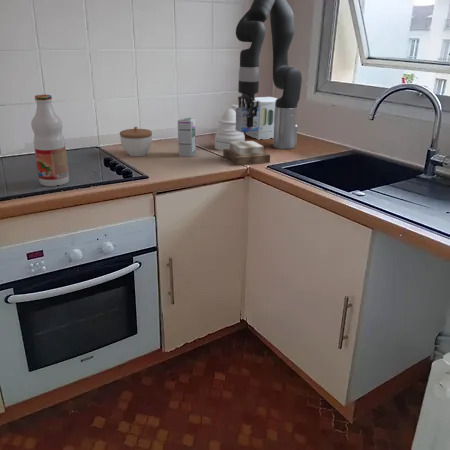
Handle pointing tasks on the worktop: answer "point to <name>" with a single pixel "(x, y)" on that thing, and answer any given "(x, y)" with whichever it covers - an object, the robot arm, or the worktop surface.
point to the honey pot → (228, 130)
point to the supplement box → (265, 118)
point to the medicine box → (245, 120)
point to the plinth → (246, 158)
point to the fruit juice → (49, 144)
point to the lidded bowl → (136, 141)
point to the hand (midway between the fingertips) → (247, 125)
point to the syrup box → (186, 137)
